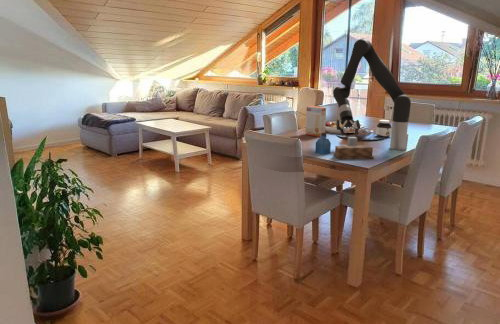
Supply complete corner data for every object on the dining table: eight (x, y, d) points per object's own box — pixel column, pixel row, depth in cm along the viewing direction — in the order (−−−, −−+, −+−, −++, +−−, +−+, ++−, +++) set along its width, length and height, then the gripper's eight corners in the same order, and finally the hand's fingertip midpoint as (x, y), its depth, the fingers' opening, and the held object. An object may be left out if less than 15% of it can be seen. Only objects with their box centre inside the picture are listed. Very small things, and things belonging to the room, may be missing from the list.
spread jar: (379, 137, 276) (380, 121, 273) (371, 134, 287) (372, 119, 284) (394, 137, 278) (396, 121, 275) (386, 134, 289) (388, 118, 286)
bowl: (355, 127, 315) (356, 118, 313) (365, 135, 286) (366, 124, 284) (318, 127, 316) (318, 118, 314) (324, 135, 287) (324, 124, 285)
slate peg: (353, 151, 238) (354, 136, 235) (356, 152, 233) (357, 138, 231) (346, 151, 237) (347, 136, 235) (349, 153, 233) (350, 138, 231)
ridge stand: (367, 154, 229) (367, 144, 228) (373, 159, 220) (374, 148, 218) (333, 155, 228) (334, 145, 226) (338, 159, 218) (339, 149, 216)
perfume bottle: (322, 154, 229) (323, 134, 226) (315, 152, 234) (316, 133, 231) (330, 153, 232) (331, 133, 229) (322, 151, 237) (323, 131, 234)
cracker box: (325, 136, 280) (326, 107, 275) (319, 137, 277) (321, 108, 271) (310, 133, 291) (311, 105, 285) (305, 134, 287) (306, 106, 281)
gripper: (336, 109, 241) (340, 131, 233) (358, 109, 242) (363, 131, 234) (333, 117, 248) (337, 138, 240) (354, 116, 249) (359, 138, 241)
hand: (350, 134), depth 237 cm, fingers open, 8 cm apart
